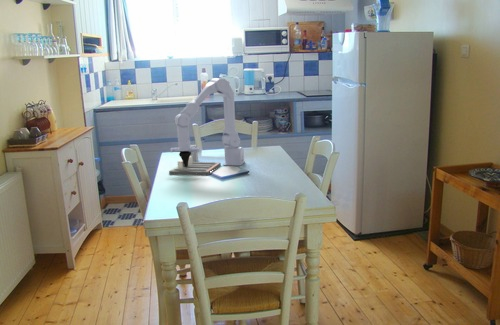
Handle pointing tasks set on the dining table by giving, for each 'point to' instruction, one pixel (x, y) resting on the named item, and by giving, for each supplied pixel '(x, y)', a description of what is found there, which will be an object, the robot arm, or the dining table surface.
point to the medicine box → (194, 154)
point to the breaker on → (190, 160)
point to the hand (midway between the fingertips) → (186, 166)
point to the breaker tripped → (181, 164)
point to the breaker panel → (196, 168)
